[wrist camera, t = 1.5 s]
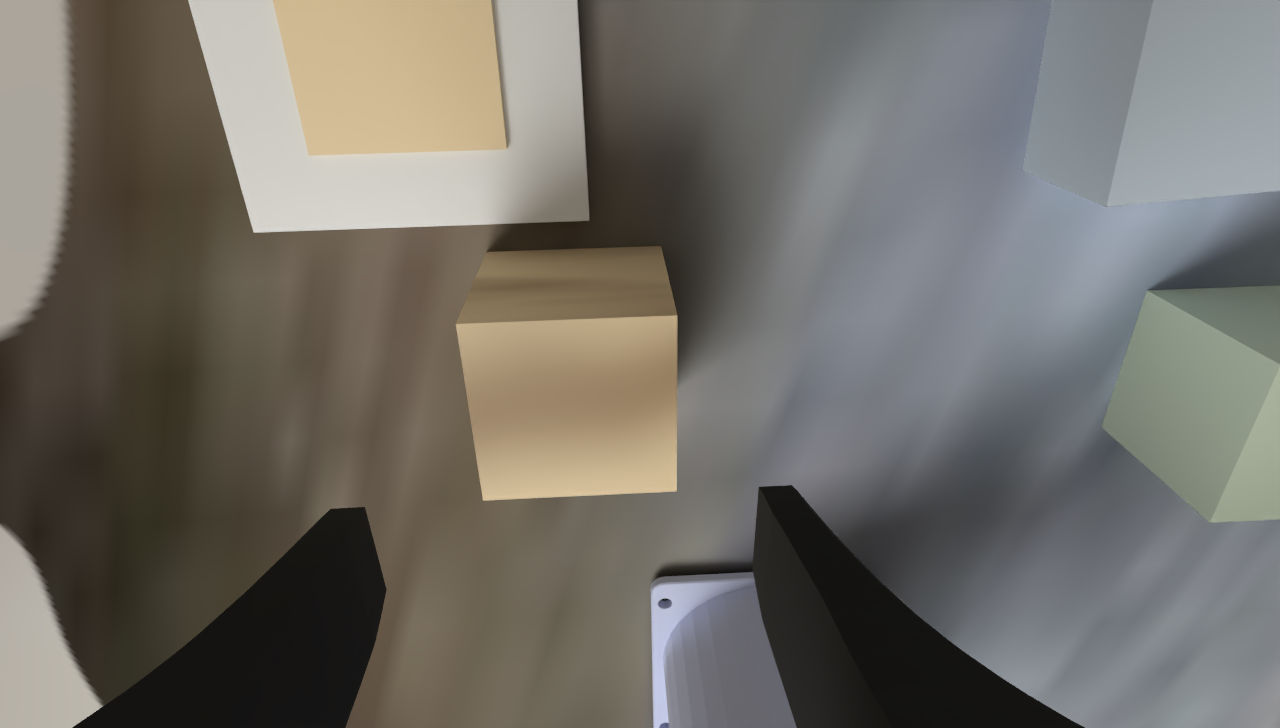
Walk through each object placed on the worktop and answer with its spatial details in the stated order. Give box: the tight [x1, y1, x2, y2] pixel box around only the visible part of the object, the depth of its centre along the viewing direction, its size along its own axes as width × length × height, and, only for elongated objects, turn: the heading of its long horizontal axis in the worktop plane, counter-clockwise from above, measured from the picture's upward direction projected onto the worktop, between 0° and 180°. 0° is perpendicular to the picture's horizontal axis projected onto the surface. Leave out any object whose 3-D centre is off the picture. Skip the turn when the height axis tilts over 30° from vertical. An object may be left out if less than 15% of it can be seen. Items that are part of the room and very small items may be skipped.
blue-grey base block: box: [1023, 0, 1280, 207], centre depth 17 cm, size 7×7×4 cm
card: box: [188, 0, 590, 232], centre depth 17 cm, size 9×9×1 cm
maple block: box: [456, 246, 677, 500], centre depth 20 cm, size 5×5×5 cm
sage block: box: [1102, 285, 1280, 523], centre depth 21 cm, size 5×5×5 cm
